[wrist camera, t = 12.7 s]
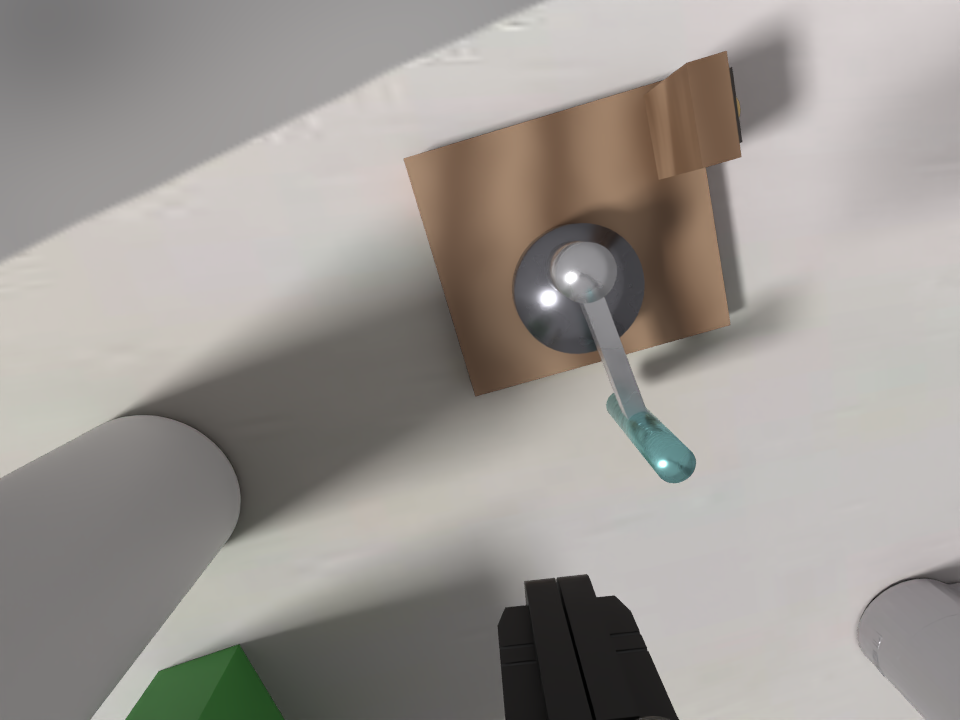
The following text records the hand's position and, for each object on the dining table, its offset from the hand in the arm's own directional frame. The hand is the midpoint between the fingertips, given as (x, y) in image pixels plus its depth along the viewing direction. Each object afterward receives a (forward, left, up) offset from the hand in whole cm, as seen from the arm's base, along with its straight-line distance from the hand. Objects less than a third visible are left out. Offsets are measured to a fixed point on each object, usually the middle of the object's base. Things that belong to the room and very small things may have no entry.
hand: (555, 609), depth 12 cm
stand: (-7, -6, -25) cm, 27 cm away
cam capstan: (-7, -1, -23) cm, 24 cm away
